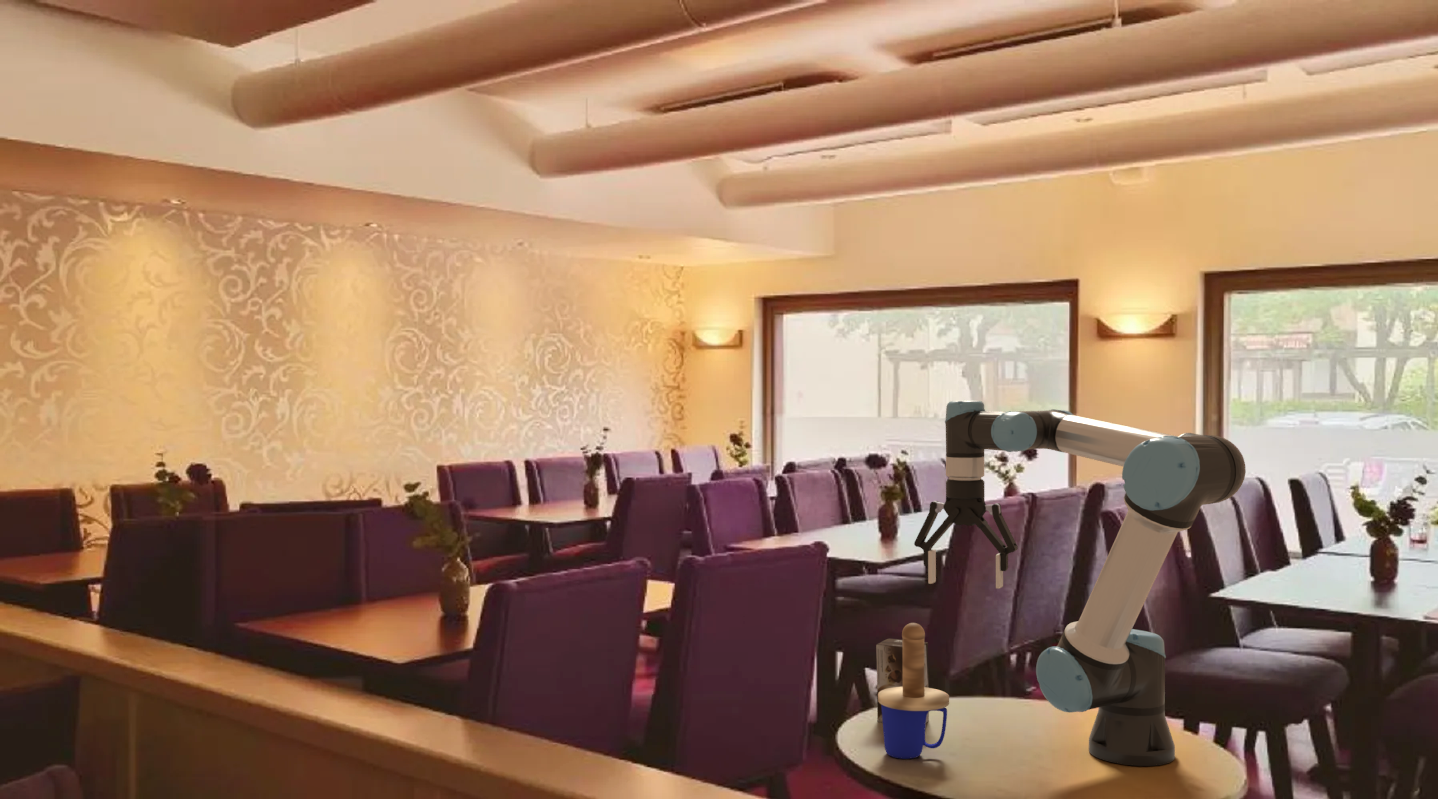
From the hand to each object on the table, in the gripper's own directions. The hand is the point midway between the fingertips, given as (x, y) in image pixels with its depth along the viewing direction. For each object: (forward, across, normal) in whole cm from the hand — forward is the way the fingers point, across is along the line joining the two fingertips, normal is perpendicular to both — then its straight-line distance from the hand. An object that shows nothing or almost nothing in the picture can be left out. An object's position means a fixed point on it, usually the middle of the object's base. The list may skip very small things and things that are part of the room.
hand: (965, 585), depth 244 cm
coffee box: (+29, +13, 0) cm, 32 cm away
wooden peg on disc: (+19, +4, +21) cm, 28 cm away
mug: (+29, +4, +21) cm, 36 cm away
